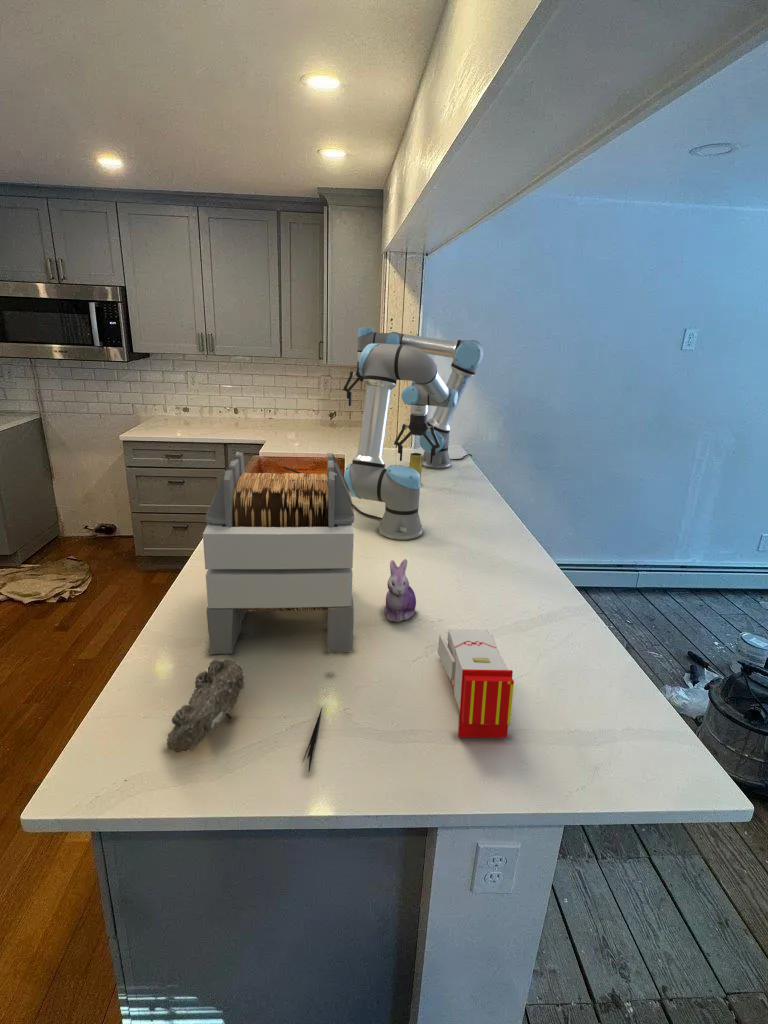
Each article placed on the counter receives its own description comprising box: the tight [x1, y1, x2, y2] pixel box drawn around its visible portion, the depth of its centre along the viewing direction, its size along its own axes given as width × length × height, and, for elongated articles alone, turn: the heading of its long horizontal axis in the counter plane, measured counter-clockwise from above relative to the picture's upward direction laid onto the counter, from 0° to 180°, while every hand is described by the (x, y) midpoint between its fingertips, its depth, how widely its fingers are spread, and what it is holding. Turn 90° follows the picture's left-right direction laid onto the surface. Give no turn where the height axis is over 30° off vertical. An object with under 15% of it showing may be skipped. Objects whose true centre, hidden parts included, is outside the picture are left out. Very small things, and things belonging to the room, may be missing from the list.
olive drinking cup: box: [409, 452, 423, 486], centre depth 254 cm, size 6×6×14 cm
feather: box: [301, 673, 332, 771], centre depth 108 cm, size 2×28×2 cm
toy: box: [437, 628, 515, 738], centre depth 117 cm, size 12×13×30 cm
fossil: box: [166, 658, 245, 754], centre depth 106 cm, size 22×10×15 cm
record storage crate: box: [202, 451, 355, 655], centre depth 137 cm, size 34×33×41 cm
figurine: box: [384, 558, 417, 623], centre depth 145 cm, size 9×10×15 cm
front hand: (415, 461), depth 253 cm, fingers open, 13 cm apart
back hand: (363, 406), depth 276 cm, fingers open, 13 cm apart
